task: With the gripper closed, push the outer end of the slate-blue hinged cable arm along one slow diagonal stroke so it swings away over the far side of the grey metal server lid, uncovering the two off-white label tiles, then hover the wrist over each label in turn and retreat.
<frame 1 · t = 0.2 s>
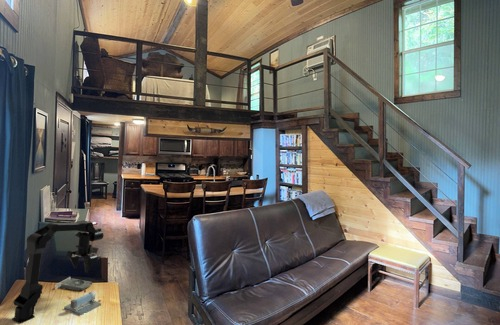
hand: (81, 270, 161), 14 cm above the table, fingers open, 9 cm apart
cable arm: (83, 299, 150), point 4 cm above the table, hinge at 0.0°
server lid: (83, 307, 150), on the table
graphics card: (73, 288, 170), on the table
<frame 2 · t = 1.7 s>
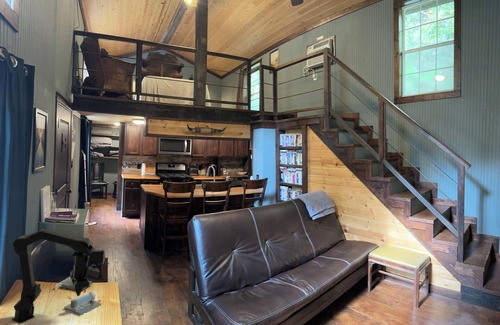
hand: (78, 295, 142), 10 cm above the table, fingers closed
nothing on the table moved.
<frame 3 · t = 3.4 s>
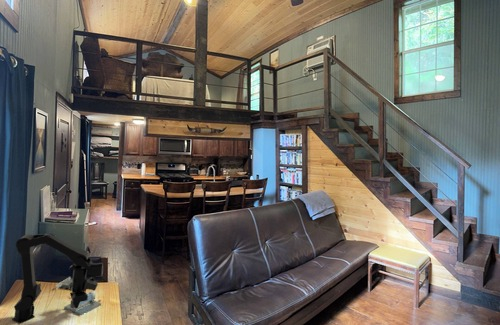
hand: (76, 308, 143), 3 cm above the table, fingers closed
cable arm: (83, 299, 150), point 4 cm above the table, hinge at 0.4°, touching gripper
everything else where it was.
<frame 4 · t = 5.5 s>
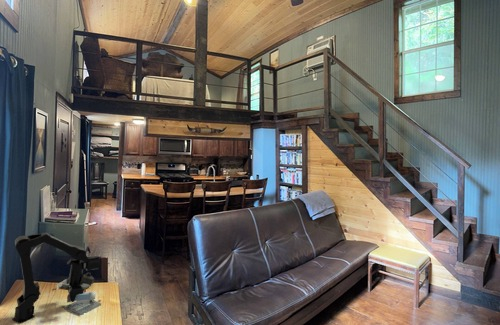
hand: (72, 301, 149), 3 cm above the table, fingers closed
cable arm: (81, 296, 153), point 4 cm above the table, hinge at 43.0°, touching gripper
everything else where it was.
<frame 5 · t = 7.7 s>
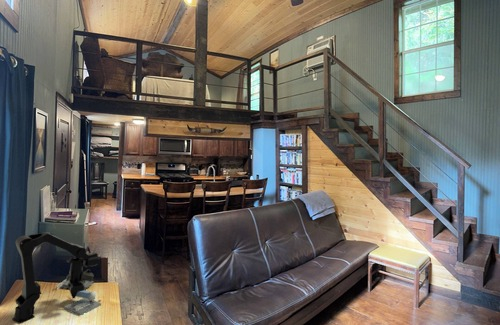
hand: (73, 298, 152), 3 cm above the table, fingers closed
cable arm: (84, 294, 156), point 4 cm above the table, hinge at 77.4°
everything else where it was.
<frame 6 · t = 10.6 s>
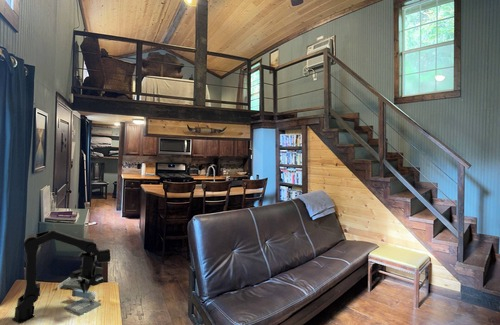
hand: (85, 293, 151), 7 cm above the table, fingers closed
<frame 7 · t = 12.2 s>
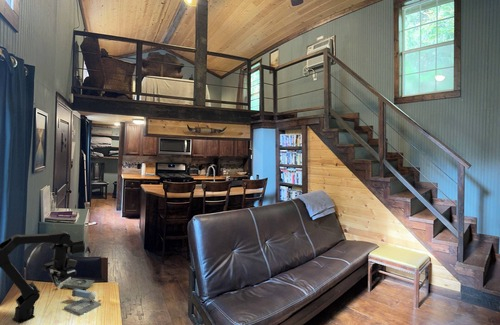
hand: (57, 286, 145), 12 cm above the table, fingers closed
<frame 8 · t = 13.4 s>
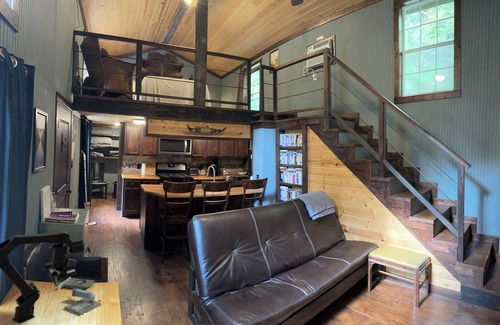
hand: (56, 286, 145), 12 cm above the table, fingers closed
at the end: cable arm at +78° (first picture: +0°); cable arm touching nothing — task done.
